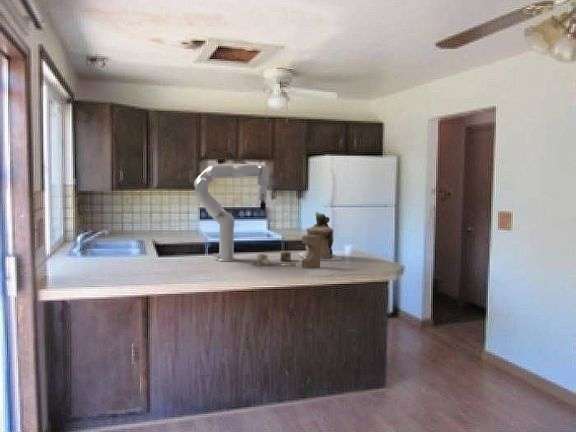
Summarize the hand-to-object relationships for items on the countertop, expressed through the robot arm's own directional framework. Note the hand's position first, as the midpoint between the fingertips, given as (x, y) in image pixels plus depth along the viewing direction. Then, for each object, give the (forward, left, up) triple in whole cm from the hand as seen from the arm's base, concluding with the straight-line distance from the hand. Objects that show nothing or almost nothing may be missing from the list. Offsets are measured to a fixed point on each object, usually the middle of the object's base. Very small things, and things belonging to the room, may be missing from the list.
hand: (263, 208), depth 337 cm
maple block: (+1, -23, -34) cm, 41 cm away
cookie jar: (+40, +4, -35) cm, 53 cm away
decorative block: (+32, -30, -34) cm, 56 cm away
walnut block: (+16, -9, -34) cm, 39 cm away
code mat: (+8, -23, -34) cm, 42 cm away
